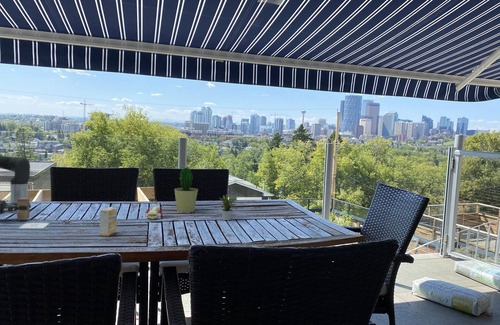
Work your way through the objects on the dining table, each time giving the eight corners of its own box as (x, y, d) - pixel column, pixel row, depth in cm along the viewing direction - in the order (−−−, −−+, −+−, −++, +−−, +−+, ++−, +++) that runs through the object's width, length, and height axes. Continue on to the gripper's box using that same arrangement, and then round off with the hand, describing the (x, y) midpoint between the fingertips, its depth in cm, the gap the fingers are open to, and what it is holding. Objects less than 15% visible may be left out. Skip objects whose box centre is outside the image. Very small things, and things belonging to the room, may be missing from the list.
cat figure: (148, 213, 253) (143, 219, 228) (148, 200, 253) (143, 204, 228) (163, 213, 254) (160, 219, 230) (164, 200, 254) (160, 204, 230)
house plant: (235, 224, 228) (236, 196, 227) (212, 222, 231) (213, 195, 230) (240, 219, 242) (241, 193, 241) (219, 217, 245) (220, 191, 244)
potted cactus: (198, 213, 253) (200, 168, 250) (174, 213, 249) (175, 167, 246) (196, 208, 267) (197, 165, 265) (173, 209, 264) (174, 165, 261)
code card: (25, 223, 209) (25, 223, 209) (49, 223, 212) (49, 222, 212) (18, 228, 199) (18, 228, 199) (43, 228, 201) (43, 227, 201)
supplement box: (108, 236, 191) (108, 210, 190) (99, 235, 192) (99, 209, 191) (117, 232, 200) (117, 207, 199) (108, 231, 200) (108, 206, 199)
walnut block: (20, 217, 216) (20, 198, 215) (29, 217, 217) (29, 198, 216) (17, 219, 211) (17, 199, 210) (26, 219, 212) (26, 199, 211)
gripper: (-12, 202, 203) (24, 202, 207) (0, 197, 217) (33, 198, 221) (-12, 216, 204) (24, 216, 207) (0, 211, 218) (33, 211, 221)
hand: (28, 207), depth 214 cm, fingers closed on walnut block, 4 cm apart
